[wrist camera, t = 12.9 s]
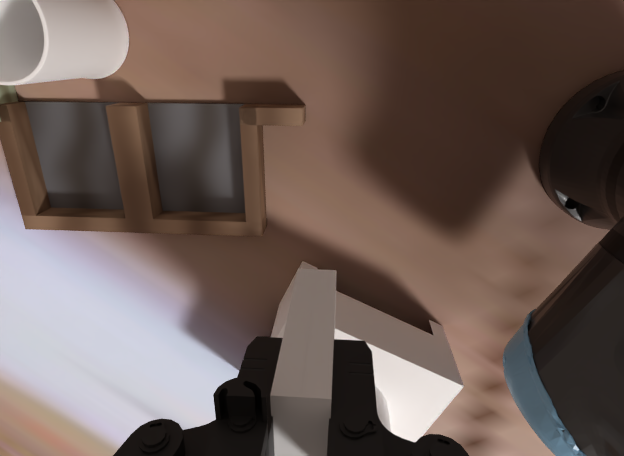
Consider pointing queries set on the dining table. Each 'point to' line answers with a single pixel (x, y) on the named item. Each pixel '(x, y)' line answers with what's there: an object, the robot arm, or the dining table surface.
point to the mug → (60, 40)
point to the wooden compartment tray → (140, 164)
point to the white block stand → (395, 362)
